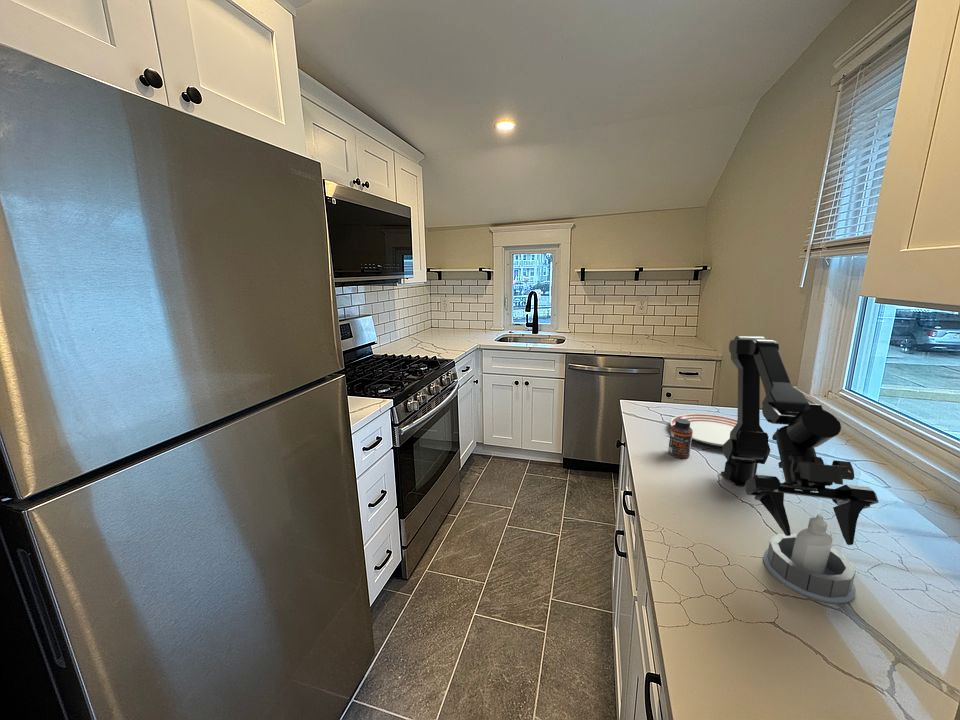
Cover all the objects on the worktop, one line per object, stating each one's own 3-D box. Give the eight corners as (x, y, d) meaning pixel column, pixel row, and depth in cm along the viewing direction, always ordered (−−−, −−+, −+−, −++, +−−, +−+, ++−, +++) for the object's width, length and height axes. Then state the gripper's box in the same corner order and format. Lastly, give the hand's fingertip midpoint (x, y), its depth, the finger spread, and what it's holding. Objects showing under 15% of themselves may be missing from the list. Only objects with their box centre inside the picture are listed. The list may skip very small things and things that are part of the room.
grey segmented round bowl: (806, 546, 76) (810, 529, 75) (876, 600, 64) (882, 580, 63) (747, 550, 76) (750, 533, 75) (805, 606, 63) (810, 586, 62)
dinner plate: (659, 438, 127) (660, 429, 126) (680, 414, 147) (681, 406, 146) (758, 463, 109) (760, 453, 108) (767, 432, 129) (768, 424, 128)
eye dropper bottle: (830, 583, 67) (846, 526, 64) (792, 574, 69) (805, 518, 66) (820, 565, 71) (834, 511, 68) (784, 557, 73) (796, 504, 70)
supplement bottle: (669, 457, 113) (672, 423, 111) (667, 448, 119) (670, 415, 116) (691, 460, 111) (695, 425, 109) (688, 451, 117) (692, 418, 114)
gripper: (760, 436, 70) (777, 524, 62) (883, 447, 65) (920, 544, 57) (738, 454, 79) (751, 533, 72) (845, 465, 74) (872, 551, 67)
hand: (818, 540), depth 67 cm, fingers open, 9 cm apart
